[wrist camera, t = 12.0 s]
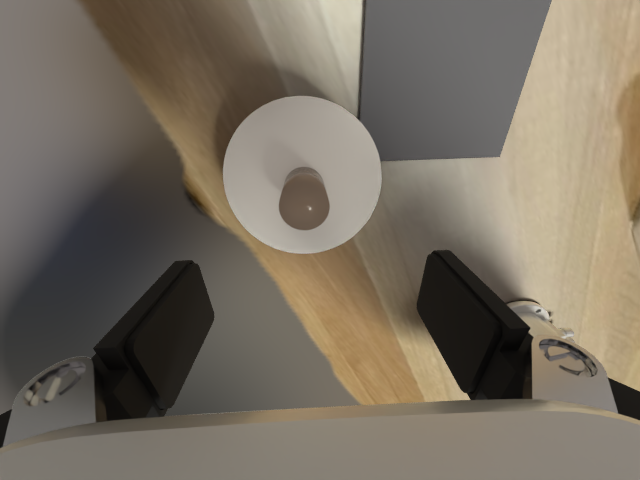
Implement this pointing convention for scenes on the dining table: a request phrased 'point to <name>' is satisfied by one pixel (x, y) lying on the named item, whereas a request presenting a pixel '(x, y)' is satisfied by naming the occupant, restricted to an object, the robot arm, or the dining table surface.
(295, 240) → the lid
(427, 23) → the mat
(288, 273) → the dining table surface
